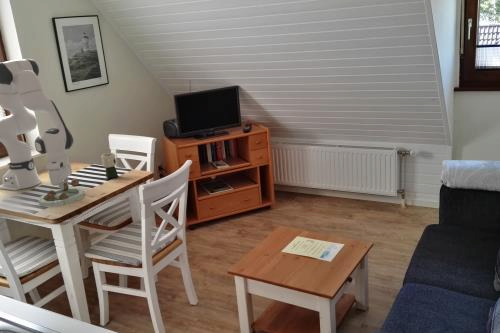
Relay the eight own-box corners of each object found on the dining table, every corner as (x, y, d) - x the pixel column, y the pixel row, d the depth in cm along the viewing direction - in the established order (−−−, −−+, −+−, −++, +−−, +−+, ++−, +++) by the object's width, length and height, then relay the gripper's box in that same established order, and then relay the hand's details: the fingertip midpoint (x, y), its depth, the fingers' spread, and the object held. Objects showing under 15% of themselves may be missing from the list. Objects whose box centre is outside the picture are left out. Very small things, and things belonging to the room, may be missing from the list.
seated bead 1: (46, 199, 255) (44, 191, 253) (51, 196, 258) (50, 188, 257) (53, 199, 253) (51, 191, 252) (58, 196, 257) (56, 189, 256)
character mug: (119, 179, 278) (115, 155, 274) (105, 181, 276) (101, 158, 273) (118, 173, 288) (114, 151, 284) (105, 176, 286) (101, 153, 283)
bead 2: (70, 187, 273) (68, 180, 272) (75, 184, 276) (73, 177, 275) (76, 187, 271) (75, 180, 270) (81, 184, 275) (79, 177, 274)
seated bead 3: (58, 202, 248) (56, 194, 247) (63, 199, 251) (62, 191, 250) (65, 202, 246) (63, 195, 245) (70, 199, 250) (68, 192, 249)
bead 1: (67, 192, 257) (66, 184, 256) (60, 192, 257) (58, 185, 256) (70, 189, 261) (68, 181, 260) (62, 190, 261) (61, 182, 260)
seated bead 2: (45, 203, 248) (43, 195, 247) (50, 200, 252) (48, 192, 251) (51, 203, 247) (49, 195, 246) (57, 200, 251) (55, 193, 249)
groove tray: (30, 207, 248) (28, 202, 247) (59, 191, 267) (58, 187, 266) (65, 208, 241) (64, 203, 240) (93, 192, 260) (92, 187, 259)
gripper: (59, 156, 264) (65, 182, 268) (44, 168, 245) (51, 195, 249) (71, 155, 264) (77, 180, 268) (58, 166, 245) (64, 194, 249)
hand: (64, 188), depth 258 cm, fingers closed on bead 1, 4 cm apart
